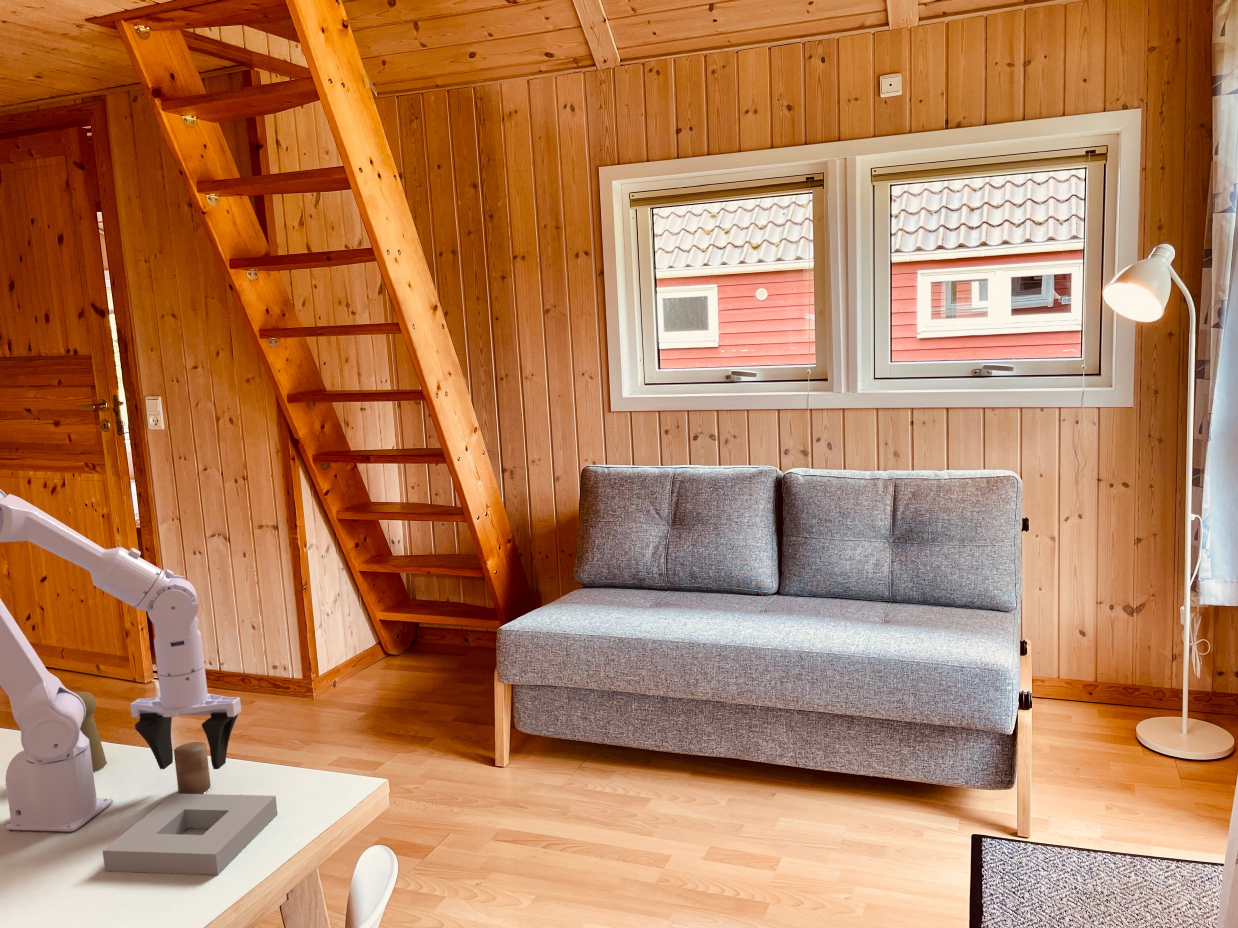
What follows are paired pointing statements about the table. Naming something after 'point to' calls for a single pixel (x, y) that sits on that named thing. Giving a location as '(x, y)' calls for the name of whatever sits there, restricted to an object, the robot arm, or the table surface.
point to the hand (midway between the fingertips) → (192, 766)
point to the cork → (92, 731)
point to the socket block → (169, 852)
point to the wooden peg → (192, 768)
